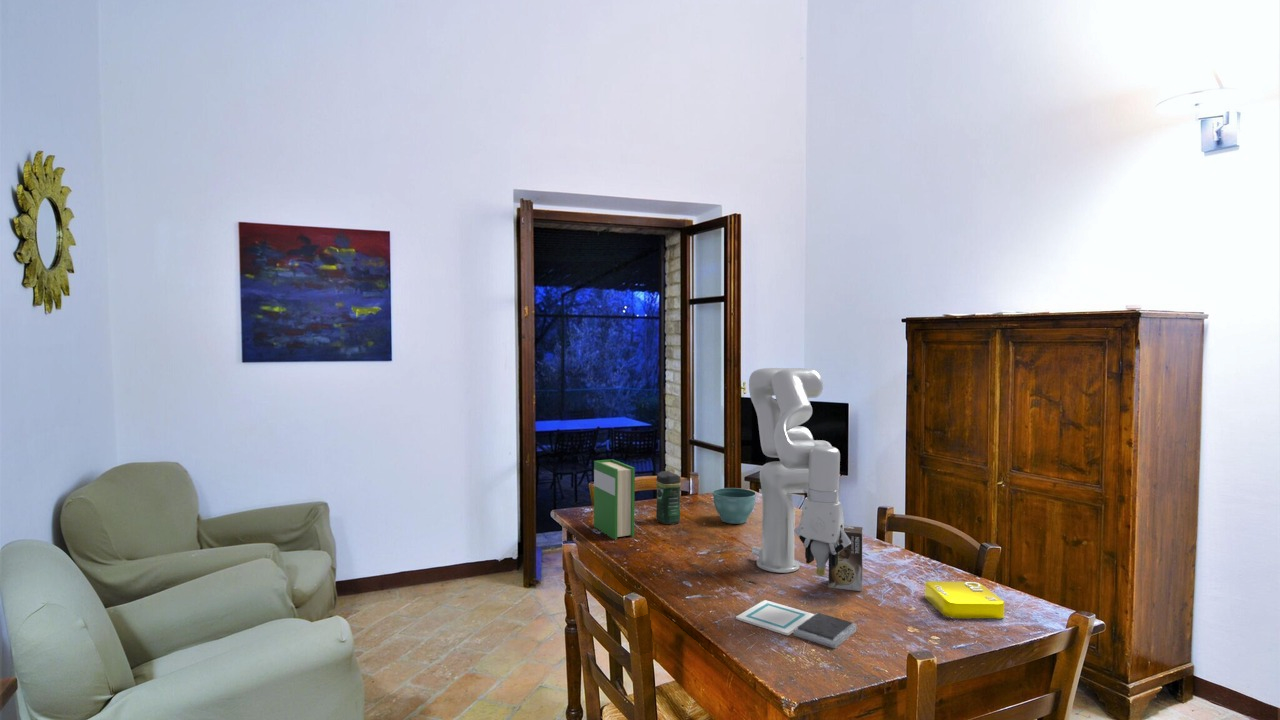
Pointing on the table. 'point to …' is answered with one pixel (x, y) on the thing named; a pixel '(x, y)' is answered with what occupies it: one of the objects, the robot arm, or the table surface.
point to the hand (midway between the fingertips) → (821, 564)
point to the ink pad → (825, 630)
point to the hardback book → (614, 498)
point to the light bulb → (820, 555)
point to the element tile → (964, 599)
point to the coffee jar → (668, 497)
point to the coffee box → (849, 562)
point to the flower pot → (734, 504)
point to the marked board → (774, 617)
